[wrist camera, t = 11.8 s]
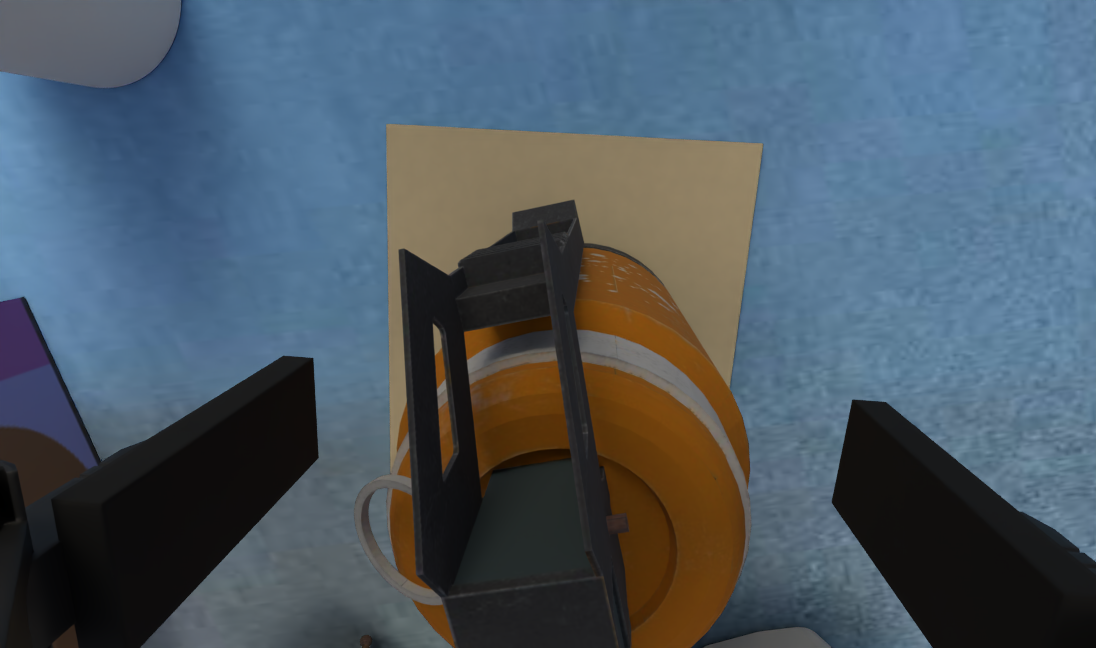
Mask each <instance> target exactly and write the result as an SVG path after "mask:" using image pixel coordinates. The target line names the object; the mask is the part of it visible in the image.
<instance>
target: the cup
mask: <svg viewBox="0 0 1096 648" xmlns="http://www.w3.org/2000/svg"><path fill="white" fill-rule="evenodd" d="M180 12H181V0H0V71H1V72H7V73H13V74H19V75H24V76H30V77H36V78H42V79H48V80H53V81H59V82H65V83H71V84H77V85H82V86H88V87H94V88H115V87H121V86H125V85H128V84H131V83H133V82H136V81H138V80H140V79H141V78H143V77H145V76H146V75H147V74H149V73H150V72H151V71H152V70H154V69H155V68H156V67H157V66H158V65H159V63H160V62H161V61H162V60H163V59H164V57H165V55H166V54H167V52H168V51H169V49H170V47H171V45H172V43H173V40H174V38H175V35H176V32H177V29H178V25H179V19H180Z"/></svg>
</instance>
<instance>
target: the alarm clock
mask: <svg viewBox="0 0 1096 648" xmlns="http://www.w3.org/2000/svg"><path fill="white" fill-rule="evenodd" d="M371 643H372V638H371V636H369V635H364V636H362V638H361V639H360V644H361V646H362V648H370V647H369V646H370V645H371Z"/></svg>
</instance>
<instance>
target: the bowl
mask: <svg viewBox="0 0 1096 648" xmlns="http://www.w3.org/2000/svg"><path fill="white" fill-rule="evenodd" d="M704 648H832V647H831V646H830V645H829V644H828V643H826V642H825V641H824V640H823V639H822V638H821V637H820V636H819V635H817V634H816V633H815V632H814V631H812V630H810V629H808V628H803V627H792V628H784V629H776V630H768V631H760V632H755V633H752V634H748V635H744V636H741V637H737V638H733V639H729V640H726V641H722V642H718V643H715V644H711V645H707V646H706V647H704Z"/></svg>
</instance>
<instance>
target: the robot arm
mask: <svg viewBox="0 0 1096 648" xmlns="http://www.w3.org/2000/svg"><path fill="white" fill-rule="evenodd" d="M318 458H319V457H318V438H317V419H316V400H315V381H314V362H313V358H306V357H293V356H282V357H281V358H279V359H278V360H276V361H274V362H273V363H271V364H269V365H268V366H266V367H265V368H263V369H261V370H260V371H258V372H256V373H255V374H253V375H252V376H250V377H248V378H247V379H245V380H243V381H242V382H240V383H239V384H237V385H235V386H234V387H232V388H230V389H229V390H227V391H226V392H224V393H222V394H221V395H219V396H217V397H216V398H214V399H213V400H211V401H209V402H208V403H206V404H204V405H203V406H201V407H200V408H198V409H196V410H195V411H193V412H191V413H190V414H188V415H187V416H185V417H183V418H182V419H180V420H178V421H177V422H175V423H174V424H172V425H170V426H169V427H167V428H165V429H164V430H162V431H161V432H159V433H157V434H156V435H154V436H152V437H151V438H149V439H148V440H145V441H143V442H140V443H137V444H135V445H132V446H129V447H127V448H124V449H121V450H120V451H118V452H116V453H115V454H113V455H111V456H110V457H108V458H107V459H105V460H103V461H102V462H100V463H99V465H98V466H93V467H92V468H90V469H88V470H87V471H85V472H83V473H82V474H80V477H79V478H73V479H72V480H70V481H68V482H67V483H65V484H63V485H62V486H60V487H58V488H57V489H55V490H53V491H52V492H50V493H48V494H47V495H45V496H43V497H42V498H40V499H39V500H37V501H35V502H34V503H32V504H30V505H29V506H27V507H25V505H24V500H23V495H22V490H21V485H20V480H19V475H18V470H17V468H16V466H15V464H13V463H10V462H7V461H4V460H0V648H53V644H52V643H53V642H54V641H55V640H57V639H58V638H59V637H60V636H61V635H62V634H63V633H65V632H66V631H67V630H68V629H69V628H70V627H71V626H72V625H75V631H76V636H77V641H78V647H79V648H140V647H141V646H142V645H143V644H144V643H145V642H146V641H147V640H148V638H149V637H150V636H151V635H152V634H153V633H154V632H155V631H156V630H157V629H158V628H159V627H160V626H161V625H162V624H163V623H164V622H165V620H166V619H167V618H168V617H169V616H170V615H171V614H172V613H173V612H174V611H175V610H176V609H177V608H178V607H179V606H180V605H181V603H182V602H183V601H184V600H185V599H186V598H187V597H188V596H189V595H190V594H191V593H192V592H193V591H194V590H195V589H196V588H197V586H198V585H199V584H200V583H201V582H202V581H203V580H204V579H205V578H206V577H207V576H208V575H209V574H210V573H211V572H212V571H213V569H214V568H215V567H216V566H217V565H218V564H219V563H220V562H221V561H222V560H223V559H224V558H225V557H226V556H227V555H228V554H229V552H230V551H231V550H232V549H233V548H234V547H235V546H236V545H237V544H238V543H239V542H240V541H241V540H242V539H243V538H244V537H245V535H246V534H247V533H248V532H249V531H250V530H251V529H252V528H253V527H254V526H255V525H256V524H257V523H258V522H259V521H260V520H261V518H262V517H263V516H264V515H265V514H266V513H267V512H268V511H269V510H270V509H271V508H272V507H273V506H274V505H275V504H276V503H277V501H278V500H279V499H280V498H281V497H282V496H283V495H284V494H285V493H286V492H287V491H288V490H289V489H290V488H291V487H292V486H293V484H294V483H295V482H296V481H297V480H298V479H299V478H300V477H301V476H302V475H303V474H304V473H305V472H306V471H307V470H308V469H309V467H310V466H311V465H312V464H313V463H314V462H315V461H316V460H317V459H318ZM832 504H833V505H834V507H835V508H836V510H837V511H838V512H839V514H840V515H841V517H842V518H843V520H844V521H845V523H846V524H847V525H848V527H849V528H850V530H851V531H852V533H853V534H854V535H855V537H856V538H857V540H858V541H859V543H860V544H861V545H862V547H863V548H864V550H865V551H866V553H867V554H868V556H869V557H870V558H871V560H872V561H873V563H874V564H875V566H876V567H877V568H878V570H879V571H880V573H881V574H882V576H883V577H884V578H885V580H886V581H887V583H888V584H889V586H890V587H891V589H892V590H893V591H894V593H895V594H896V596H897V597H898V599H899V600H900V601H901V603H902V604H903V606H904V607H905V609H906V610H907V612H908V613H909V614H910V616H911V617H912V619H913V620H914V622H915V623H916V624H917V626H918V627H919V629H920V630H921V632H922V633H923V634H924V636H925V637H926V639H927V640H928V642H929V643H930V645H931V646H932V647H933V648H1096V562H1095V561H1094V560H1093V559H1091V558H1090V557H1089V556H1088V555H1086V554H1085V553H1080V551H1079V548H1077V547H1076V546H1075V545H1074V544H1072V543H1071V542H1070V541H1069V540H1067V539H1066V538H1065V537H1064V536H1062V535H1061V534H1060V533H1059V532H1057V531H1056V530H1055V529H1053V528H1051V527H1049V526H1047V525H1046V524H1044V523H1042V522H1040V521H1038V520H1036V519H1034V518H1033V517H1031V516H1029V515H1027V514H1025V513H1023V512H1019V511H1018V510H1016V509H1015V508H1014V507H1013V506H1012V505H1010V504H1009V503H1008V502H1007V501H1005V500H1004V499H1003V498H1002V497H1001V496H999V495H998V494H997V493H996V492H994V491H993V490H992V489H991V488H990V487H988V486H987V485H986V484H985V483H984V482H982V481H981V480H980V479H979V478H977V477H976V476H975V475H974V474H973V473H971V472H970V471H969V470H968V469H967V468H965V467H964V466H963V465H962V464H960V463H959V462H958V461H957V460H956V459H954V458H953V457H952V456H951V455H949V454H948V453H947V452H946V451H945V450H943V449H942V448H941V447H940V446H939V445H937V444H936V443H935V442H934V441H932V440H931V439H930V438H929V437H928V436H926V435H925V434H924V433H923V432H921V431H920V430H919V429H918V428H917V427H915V426H914V425H913V424H912V423H911V422H909V421H908V420H907V419H906V418H904V417H903V416H902V415H901V414H900V413H898V412H897V411H896V410H895V409H894V408H892V407H891V406H890V405H889V404H887V403H886V402H878V401H865V400H852V404H851V409H850V414H849V419H848V424H847V429H846V434H845V439H844V444H843V449H842V454H841V459H840V464H839V469H838V474H837V479H836V484H835V489H834V493H833V498H832Z"/></svg>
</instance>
